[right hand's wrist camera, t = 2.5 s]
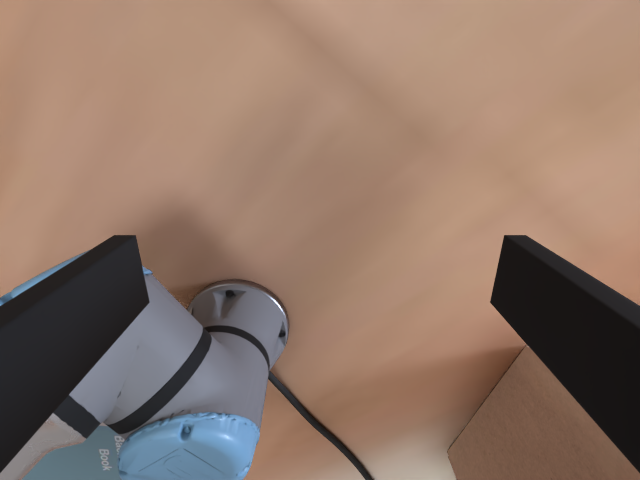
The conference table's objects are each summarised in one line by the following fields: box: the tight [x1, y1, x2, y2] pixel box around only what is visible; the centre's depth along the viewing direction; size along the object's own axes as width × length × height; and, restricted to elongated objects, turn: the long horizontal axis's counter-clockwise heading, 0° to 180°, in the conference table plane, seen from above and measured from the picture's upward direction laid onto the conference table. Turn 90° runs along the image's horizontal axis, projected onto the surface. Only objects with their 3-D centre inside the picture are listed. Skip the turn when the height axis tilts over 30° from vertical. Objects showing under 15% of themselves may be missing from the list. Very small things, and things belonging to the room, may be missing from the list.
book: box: [22, 422, 125, 480], centre depth 57 cm, size 23×16×5 cm
